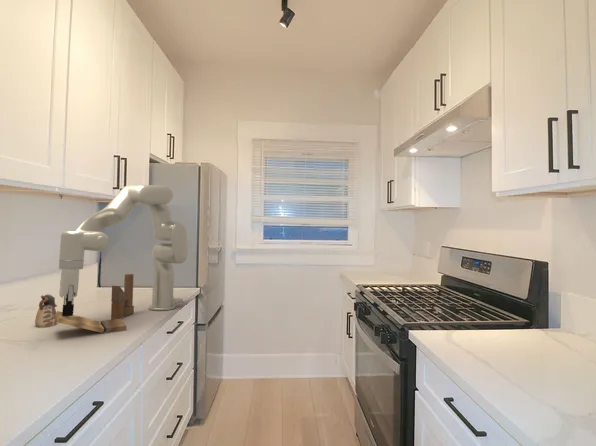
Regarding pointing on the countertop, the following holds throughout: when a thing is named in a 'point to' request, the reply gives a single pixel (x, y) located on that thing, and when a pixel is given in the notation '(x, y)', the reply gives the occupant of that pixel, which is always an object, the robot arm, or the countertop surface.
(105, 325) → the brown flat block
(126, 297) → the wooden block stack
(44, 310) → the figurine
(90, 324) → the oak plank
